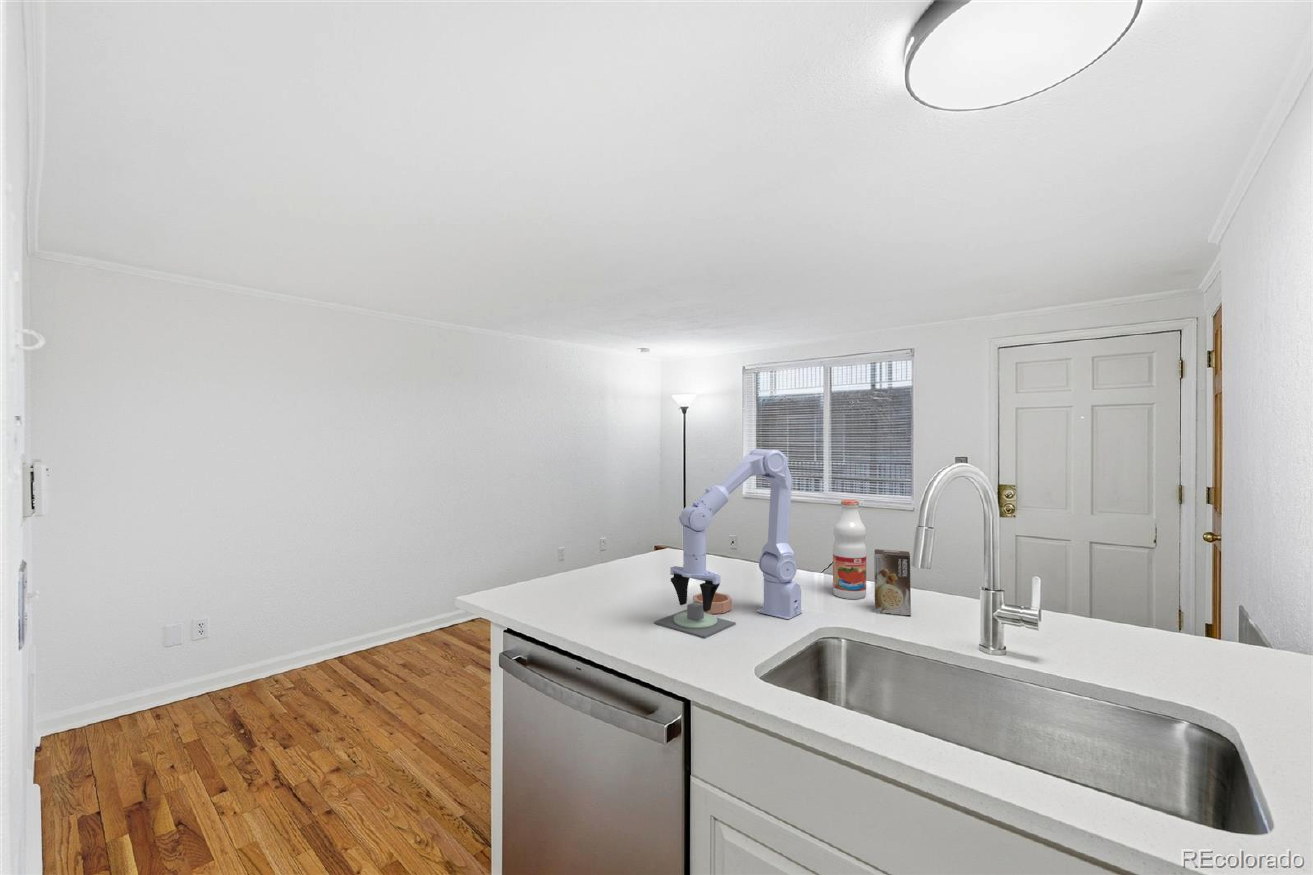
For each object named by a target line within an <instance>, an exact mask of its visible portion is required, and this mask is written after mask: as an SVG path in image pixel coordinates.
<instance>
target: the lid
mask: <svg viewBox="0 0 1313 875" xmlns="http://www.w3.org/2000/svg"><path fill="white" fill-rule="evenodd" d="M686 606H687V607H686V610H687V612H684V613H680V614H677V615H676V616H675V617H674V623H675V624H676V625H677V626H680V627H683V628H688V629H706V628H710V627H713V626H715V625H716V624H717V618H718V617H717V616H716V615H715V614H709V613H704V611H703V604H699V603H695V602H694V603H693V602H692V603H689V604H687V605H686Z"/></svg>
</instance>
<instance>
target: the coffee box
mask: <svg viewBox="0 0 1313 875" xmlns="http://www.w3.org/2000/svg"><path fill="white" fill-rule="evenodd" d="M873 557H874V558H873V559H874V561H873V562H874V565H873V566H874V613H875V612H882V613H881V614H884V613H891V614H890V615H893V614H903V615H911V616H912V604H911V601H912V600H911V599H912V598H911V597H912V596H911V594H912V591H911V589H912V588H911V584H912V583H911V553H910V551H905V550H893V549H890V550H889V549H878V548H877V549H874V556H873ZM903 615H902V616H903Z"/></svg>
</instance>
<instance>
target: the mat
mask: <svg viewBox="0 0 1313 875" xmlns="http://www.w3.org/2000/svg"><path fill="white" fill-rule="evenodd" d="M684 612H687V609H684V610H681V611H678V612H675V613H672V614H670V615H668V616H664V617H663V618H659V619H658V620H654V621H653V624H655V625H657V626H661V627H666V628H668V629H672V630H674V631H679V632H682V633H685V634H688V635H691V636H695V637H698V638H701V639H702V638H703V639H707V638H709V637H711V636H713V635H716V634H718V633H720V632H722V631H724V630H728V628H731V627H733V626H735V625H736V622H735V621H731V620H728V619H724V618H722V617H721V618H720V617H717V624H716V625H715V626H713V627H710V628H706V629H688V628H683V627H680V626H677V625H676V624H675V623H674V617H675V616H676V615H677V614H680V613H684Z"/></svg>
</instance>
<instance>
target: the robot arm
mask: <svg viewBox="0 0 1313 875" xmlns="http://www.w3.org/2000/svg"><path fill="white" fill-rule="evenodd" d="M755 476H762V477H763V478H764V479H765V480H766V481H767V482H768V483H769V484H770V493H769V494H770V496H769V512H768V527H767V528H768V529H767V530H768V531H767V542H765V544H764V545H763V546H762V551H761V555H760V557H759V559H758V567H759V570H760V571H761V573H762V577H763V607H761V608H759V609H757V610H756V611H757V613H760V614H764V615H768V616H773V617H776V618H781V619H785V620H789V619H793V618H794V617H796V616H798V615H801V614H802V613H803V610H802V588H801V585H800V584H799V583H798V582H795V581H793V579H794V578H795V576H796V575H797V574H796V573H797V570H798V568H797V563H796V561H795V552H794V550H793V549H792V548H791V545H790V544H789V541H790V525H791V524H790V521H791V504H792V486H793V485H792V484H793V478H792V477H793V476H792V474H791V472H790V469H789V458H788V457H787V456H786V455H785V454H784V453H783V452H782V451H780V450H778V449H762V448H754V449H752V450H751V451H750V452H749V453H748V454H746V455H745V456H744V457H743V459H742V461H740V463H739V465H737V466H736V467H735V469H733V470H732V471H731V472H730V474H728V476H727V477H726V478H724V480H723V481H722V482H721V483H720V484H718V485H716V484H715V485H712V486H707V487H706V488H705V492H704V493H703V494H702V495H701V496H700V497H698V499H697V500H696V499H695V500H693V502H692V505H687V506H686V507H684V508H683V510H682V511H681V514H680V516H679V517H678V520H679V523H680V525H681V526H682V527H683V528H682V529H683V530H682V531H683V534H682V536H683V538H682V539H683V543H682V544H683V546H682V549H683V556H682V558H683V559H682V560H683V566H679V565H678V566H677V565H676V566H675V565H674V566H671V567H669V568H670V576H673V577H671V578H670V582H671V584H672V586H673V588H674V590H675V592H676V593H675V594H676V596H677V600H678V603H679V606H684V605H686V604H687V605H688V603H687V602H688V588H689V582H690V579H693V580H698V581H703V583H699V587H700V592H701V593H702V597H703V611H705V612H706V611H709V610H710V609H711V605H712V601H713V598H714V595H715V592H716V593H717V591H718V588H719V586H720V583H721V574H717V573H715V572H711V571H709V570H707V528H709V526H710V524H711V521H712V520H711V519H712V518H713V517H714V516H715V515H716V514H717V513H718V512H719V511H720V510H721V509H722V508H723V507H725V505H726V504H728V502H729V496H730V494H731V493H733V492H734V491H735V490H736V489H738V487H740V486H741V485H742V484H743V483H744V482H746V481H747V480H748V479H750V478H751V477H755Z"/></svg>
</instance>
